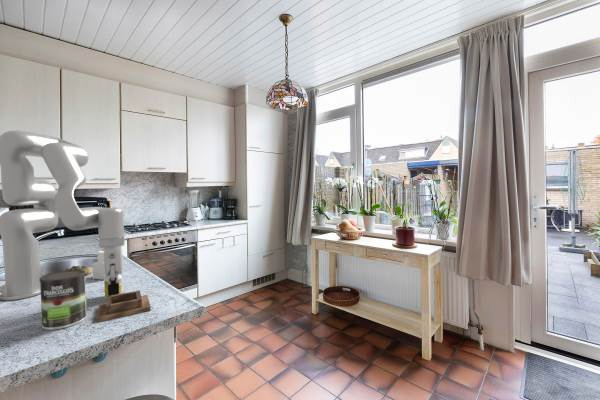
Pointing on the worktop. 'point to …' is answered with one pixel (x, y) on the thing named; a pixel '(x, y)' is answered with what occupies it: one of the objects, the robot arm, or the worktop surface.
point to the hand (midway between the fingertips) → (113, 291)
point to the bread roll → (86, 269)
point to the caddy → (123, 305)
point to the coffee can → (63, 299)
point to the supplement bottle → (107, 285)
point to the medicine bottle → (99, 266)
